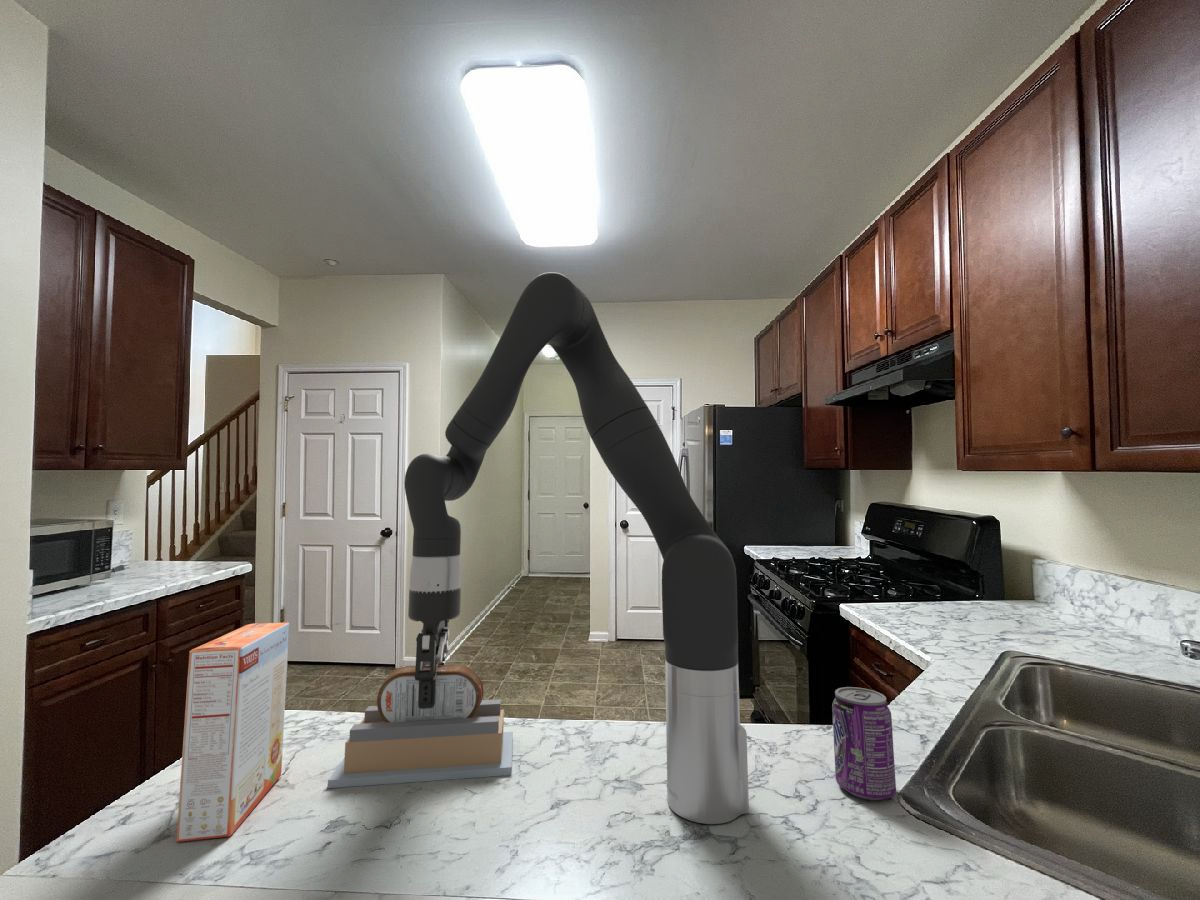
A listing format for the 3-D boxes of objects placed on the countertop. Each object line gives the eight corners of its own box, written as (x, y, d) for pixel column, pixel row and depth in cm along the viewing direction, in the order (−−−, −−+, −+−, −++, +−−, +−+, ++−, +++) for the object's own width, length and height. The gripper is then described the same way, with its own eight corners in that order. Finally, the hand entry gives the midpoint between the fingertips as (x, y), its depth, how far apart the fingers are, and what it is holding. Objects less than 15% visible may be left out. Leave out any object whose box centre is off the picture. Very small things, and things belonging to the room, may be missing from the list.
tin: (482, 719, 80) (484, 661, 80) (480, 728, 76) (482, 667, 77) (379, 724, 78) (382, 665, 79) (372, 733, 75) (375, 671, 76)
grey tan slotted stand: (512, 738, 85) (513, 695, 85) (511, 774, 73) (512, 724, 74) (355, 748, 81) (357, 703, 82) (327, 788, 69) (330, 735, 70)
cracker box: (234, 781, 71) (246, 622, 74) (282, 777, 72) (293, 620, 75) (169, 845, 58) (186, 647, 60) (230, 839, 59) (244, 645, 61)
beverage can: (841, 771, 74) (837, 682, 75) (899, 787, 70) (893, 692, 71) (830, 793, 68) (825, 696, 69) (892, 811, 64) (886, 708, 65)
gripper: (455, 592, 73) (451, 714, 72) (465, 579, 87) (462, 681, 86) (399, 593, 72) (393, 717, 70) (418, 580, 86) (414, 683, 84)
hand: (431, 697), depth 78 cm, fingers open, 8 cm apart
